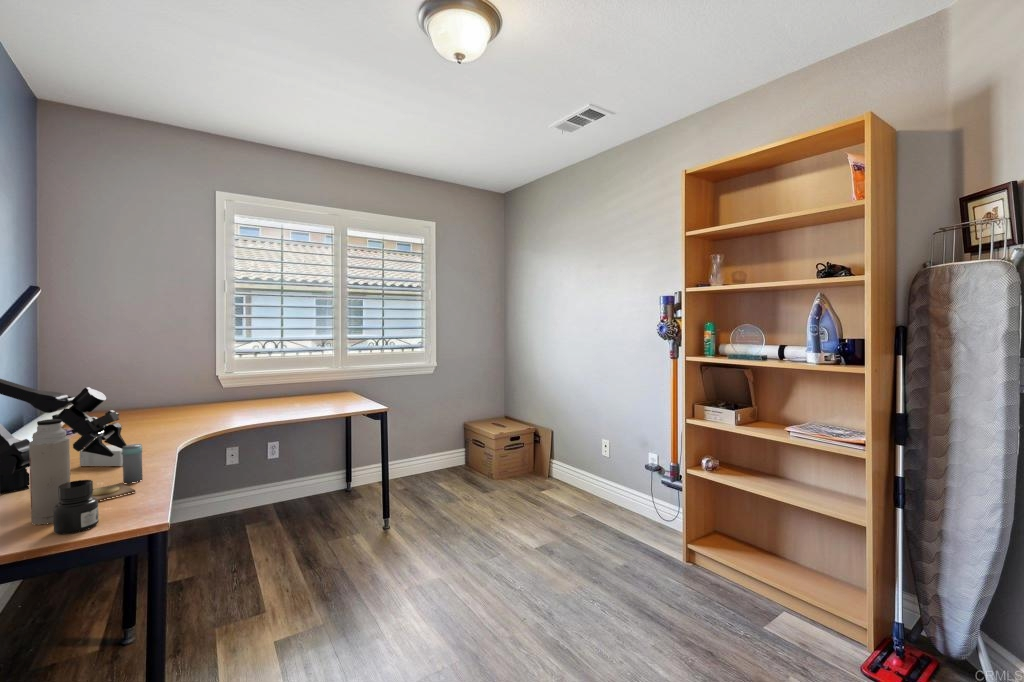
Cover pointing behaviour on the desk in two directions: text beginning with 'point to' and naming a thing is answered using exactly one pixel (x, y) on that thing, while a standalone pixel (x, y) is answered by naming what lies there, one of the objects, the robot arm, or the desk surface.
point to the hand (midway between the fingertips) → (120, 452)
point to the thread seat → (111, 491)
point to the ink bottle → (75, 507)
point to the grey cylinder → (132, 463)
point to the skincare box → (102, 458)
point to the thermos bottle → (47, 468)
